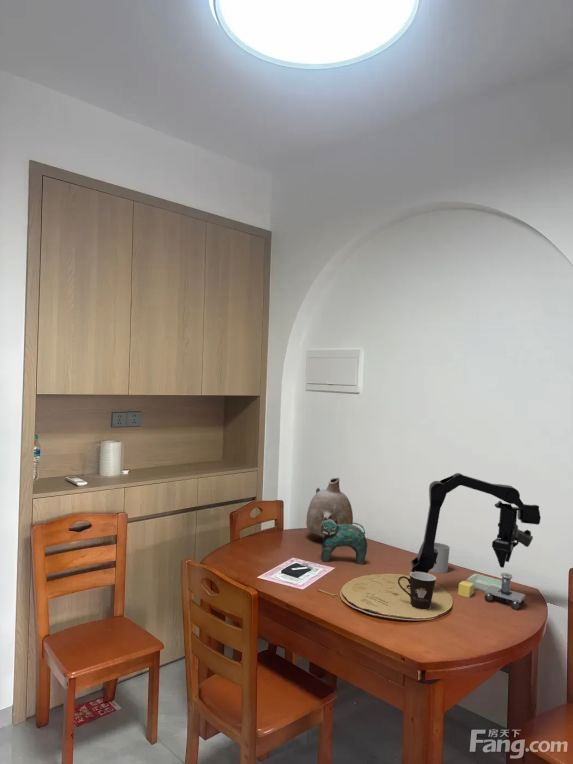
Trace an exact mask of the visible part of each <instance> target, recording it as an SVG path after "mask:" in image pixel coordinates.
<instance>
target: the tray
mask: <svg viewBox="0 0 573 764" xmlns="http://www.w3.org/2000/svg"><path fill="white" fill-rule="evenodd" d="M465 581H467V582H471V583H474V590H475V589H476V590H479V591H482V592H485V590H486V589H487V588H488V587H489V586H491V585H492V586H496V587H499V588H501V587H502V579H497V578H494V577H490V576H486V575H482V574H479V573H474V574H472V575H471V576H469V577H468V578H466V580H465ZM511 584H512V583H511V582H510V586H511ZM500 593H501V592H500Z"/></svg>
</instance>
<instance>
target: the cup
mask: <svg viewBox="0 0 573 764" xmlns="http://www.w3.org/2000/svg"><path fill="white" fill-rule="evenodd" d="M434 549H437V551H438V556H437V559H436V563H437V564H435V565H434V567H433V568H432V569H431V570H429V571H428V572H431V573H432V572H433V573H437V574H447V573H448V569H449V558H450V546H449V545H447V544H444V543H440V542H435V543H434Z"/></svg>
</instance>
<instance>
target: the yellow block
mask: <svg viewBox="0 0 573 764" xmlns="http://www.w3.org/2000/svg"><path fill="white" fill-rule="evenodd" d="M457 589H458V591H457V595H459V596H463V597H465V598H471V597H472V596H473V595H474V590H475V588H474V583H471V582H467V581H466V580H461V582H459V583H458V587H457Z"/></svg>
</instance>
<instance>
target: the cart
mask: <svg viewBox="0 0 573 764" xmlns="http://www.w3.org/2000/svg"><path fill="white" fill-rule="evenodd" d="M500 592H501V588H499V587H496V586H492V585H491V586H489V587H488V588H487V589H486V590H485V591H484V593H485V595H484V599H485V600H484V601H486V602H488V603H489V602H492V601H493V599H494V598H493V597H500V598H501V597H502V598H506V599H509V601H512V602H511V603H510V606H511V609H513V610H515V611H516V610H518V609H519V608H520V604H523V603H525V601H526V599H525V598H526V594H525V593H521V592H517V591H513V590H510V594H509V595H507V594H503V593H500Z"/></svg>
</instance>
